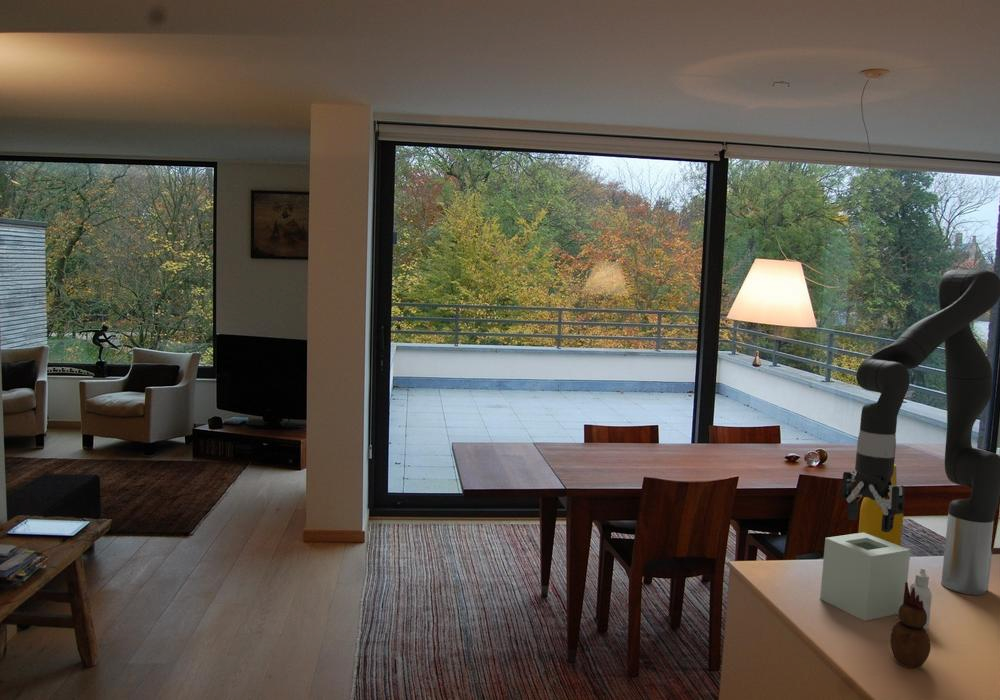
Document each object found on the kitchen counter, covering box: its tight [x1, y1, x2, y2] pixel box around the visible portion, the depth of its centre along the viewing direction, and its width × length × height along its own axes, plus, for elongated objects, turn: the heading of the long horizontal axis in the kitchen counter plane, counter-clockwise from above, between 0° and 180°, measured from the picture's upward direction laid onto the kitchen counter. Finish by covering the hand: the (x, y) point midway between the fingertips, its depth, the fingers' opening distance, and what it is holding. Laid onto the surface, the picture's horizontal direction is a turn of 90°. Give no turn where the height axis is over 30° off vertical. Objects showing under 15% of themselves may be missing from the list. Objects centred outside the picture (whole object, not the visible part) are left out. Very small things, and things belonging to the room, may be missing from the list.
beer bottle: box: [857, 463, 904, 546], centre depth 187 cm, size 9×9×29 cm
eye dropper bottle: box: [909, 567, 933, 630], centre depth 166 cm, size 4×6×12 cm
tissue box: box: [819, 532, 911, 622], centre depth 174 cm, size 12×12×14 cm
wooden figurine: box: [889, 581, 932, 669], centre depth 148 cm, size 7×6×15 cm
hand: (868, 525), depth 173 cm, fingers open, 8 cm apart
